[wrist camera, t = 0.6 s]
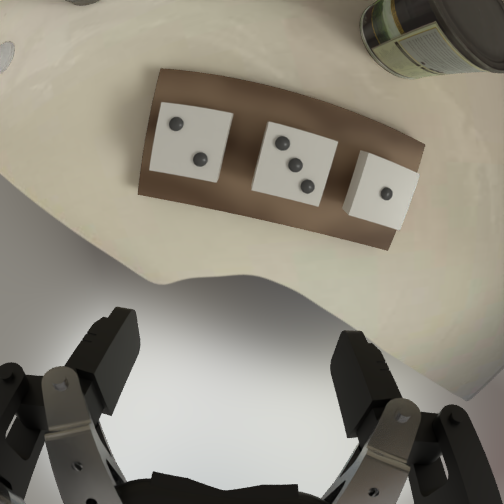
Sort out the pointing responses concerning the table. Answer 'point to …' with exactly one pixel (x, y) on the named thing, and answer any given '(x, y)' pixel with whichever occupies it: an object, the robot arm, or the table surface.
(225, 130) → the tile two
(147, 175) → the tile board
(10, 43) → the chess piece
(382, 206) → the tile one
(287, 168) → the tile three
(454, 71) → the coffee can
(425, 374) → the table surface
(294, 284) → the table surface
